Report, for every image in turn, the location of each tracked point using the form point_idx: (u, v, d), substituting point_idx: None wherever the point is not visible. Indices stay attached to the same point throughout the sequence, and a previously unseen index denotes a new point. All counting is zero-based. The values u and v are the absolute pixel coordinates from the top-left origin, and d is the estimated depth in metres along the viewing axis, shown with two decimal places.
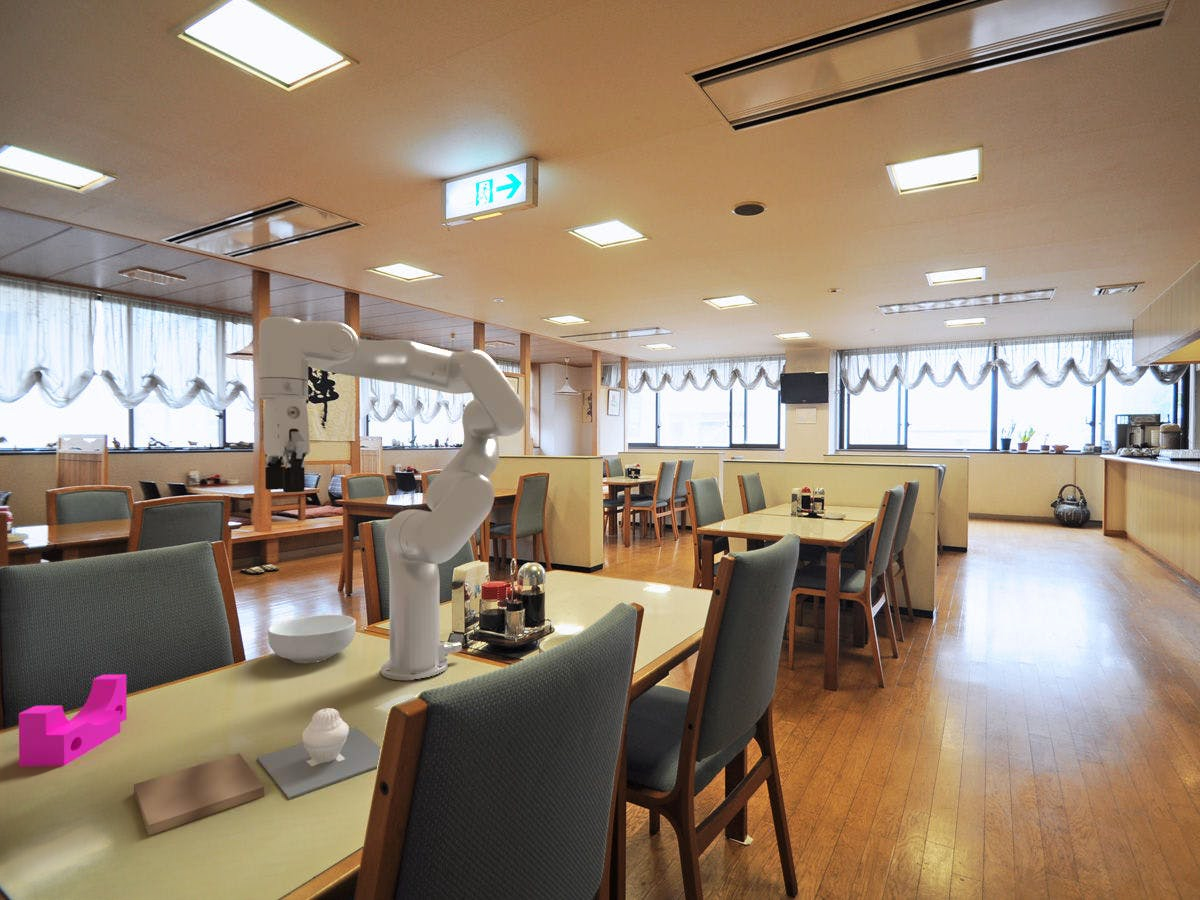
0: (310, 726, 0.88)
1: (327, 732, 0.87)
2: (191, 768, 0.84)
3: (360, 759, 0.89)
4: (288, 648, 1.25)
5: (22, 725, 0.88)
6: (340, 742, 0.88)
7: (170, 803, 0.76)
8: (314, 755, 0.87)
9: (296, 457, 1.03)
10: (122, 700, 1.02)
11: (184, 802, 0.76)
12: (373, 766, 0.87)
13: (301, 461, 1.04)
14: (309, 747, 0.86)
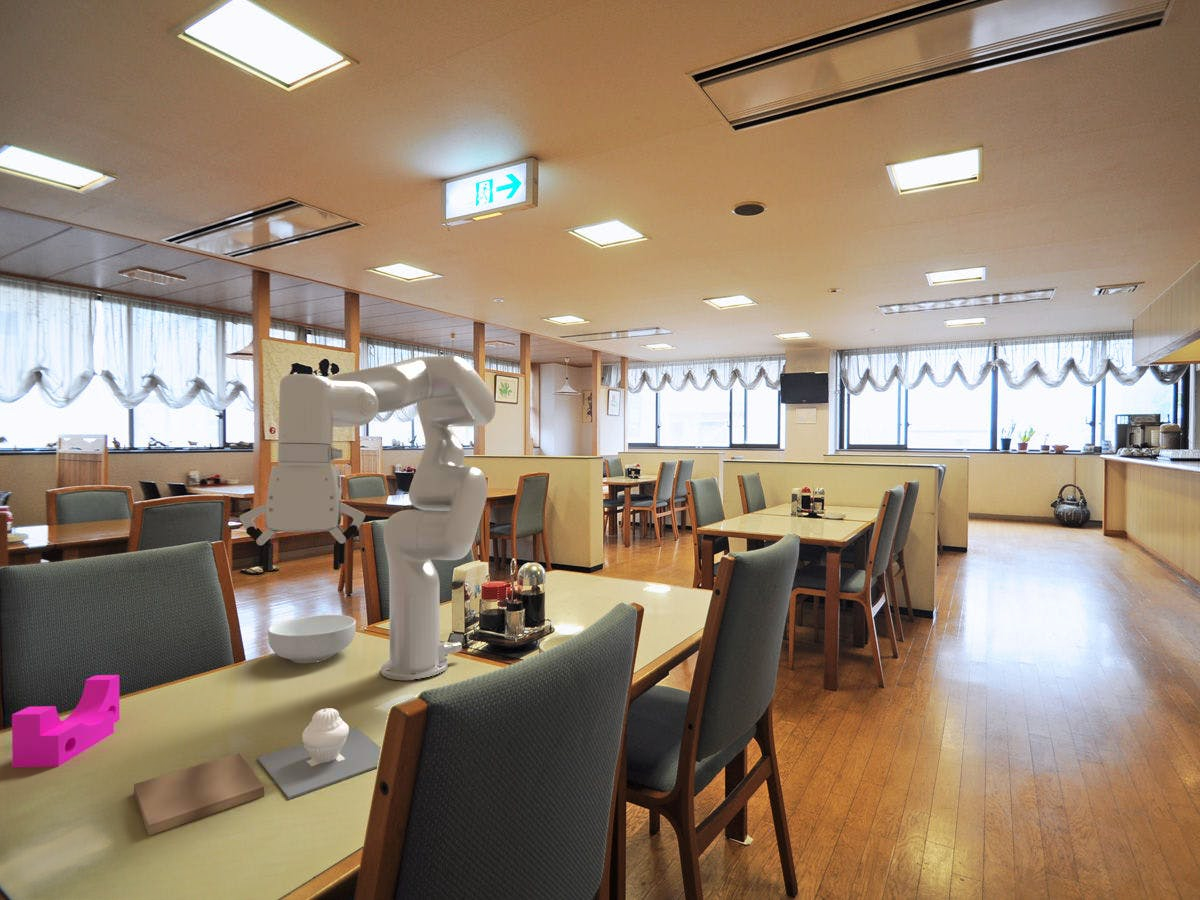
0: (310, 726, 0.88)
1: (327, 732, 0.87)
2: (191, 768, 0.84)
3: (360, 759, 0.89)
4: (288, 648, 1.25)
5: (15, 726, 0.87)
6: (340, 742, 0.88)
7: (170, 803, 0.76)
8: (314, 755, 0.87)
9: (356, 530, 0.97)
10: (115, 701, 1.02)
11: (184, 802, 0.76)
12: (373, 766, 0.87)
13: None
14: (309, 747, 0.86)
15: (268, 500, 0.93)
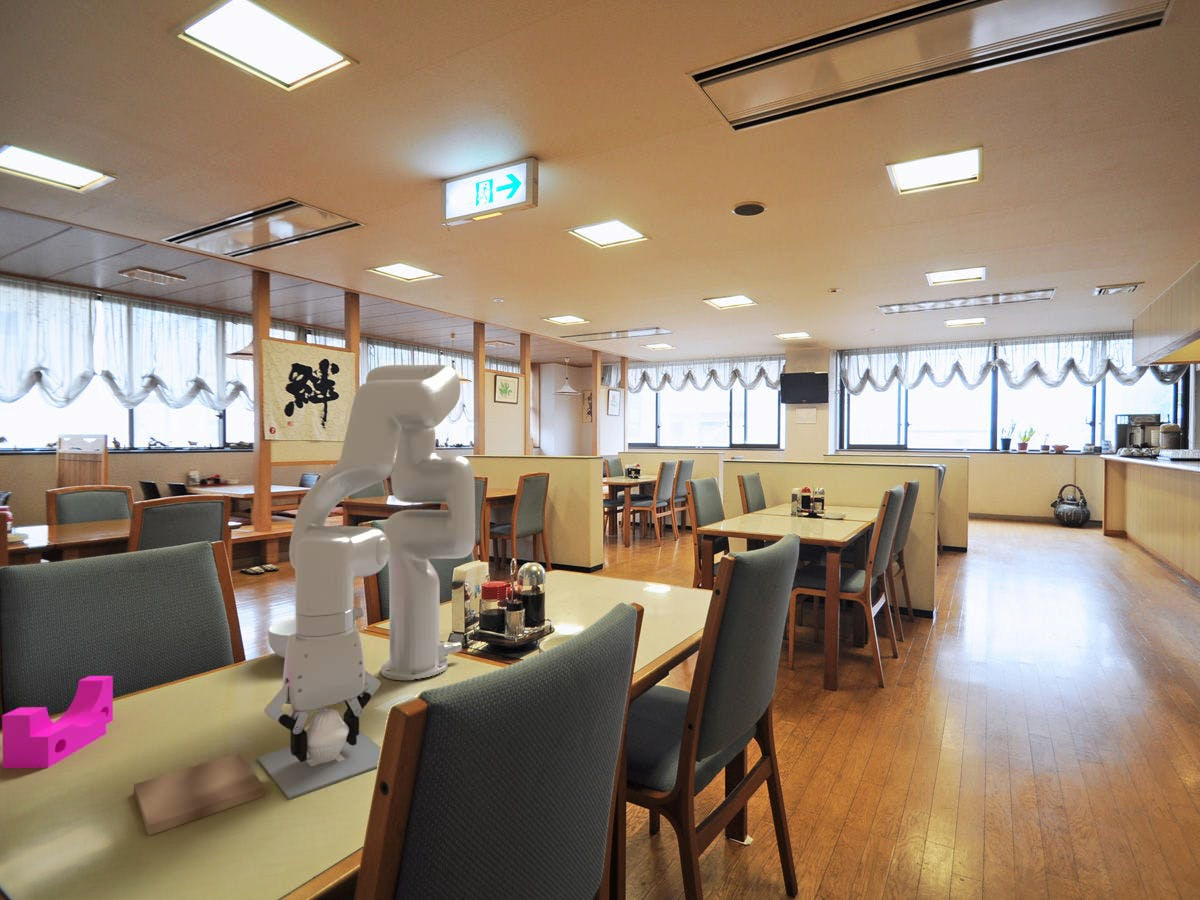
0: (310, 726, 0.88)
1: (327, 732, 0.87)
2: (191, 768, 0.84)
3: (360, 759, 0.89)
4: None
5: (6, 727, 0.87)
6: (340, 742, 0.88)
7: (170, 803, 0.76)
8: (314, 755, 0.87)
9: None
10: (108, 702, 1.01)
11: (184, 802, 0.76)
12: (373, 766, 0.87)
13: None
14: (309, 747, 0.86)
15: (296, 680, 0.84)
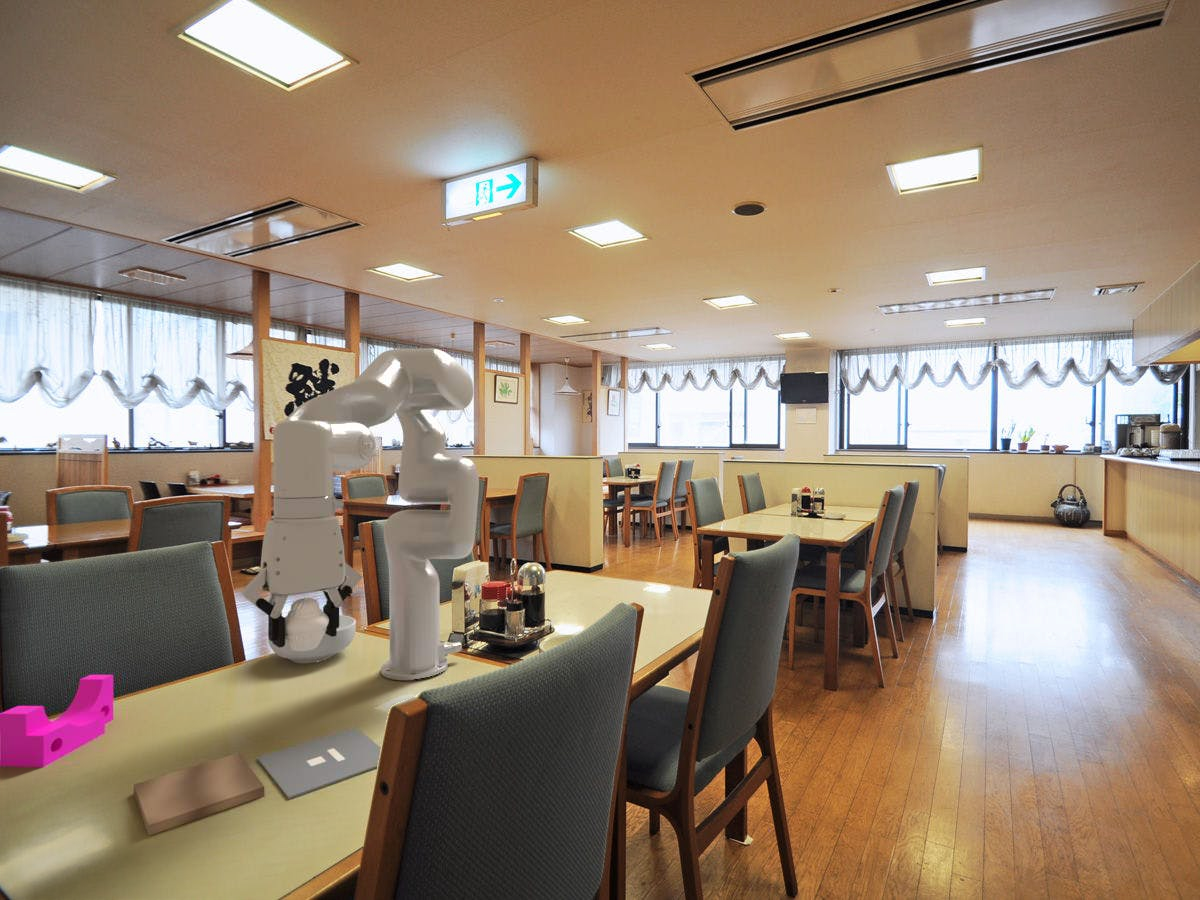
0: (289, 614, 0.86)
1: (306, 618, 0.85)
2: (191, 768, 0.84)
3: (360, 759, 0.89)
4: (288, 648, 1.25)
5: (3, 725, 0.88)
6: (320, 630, 0.86)
7: (170, 803, 0.76)
8: (293, 642, 0.85)
9: None
10: (108, 700, 1.02)
11: (184, 802, 0.76)
12: (373, 766, 0.87)
13: None
14: (288, 633, 0.85)
15: (273, 562, 0.83)
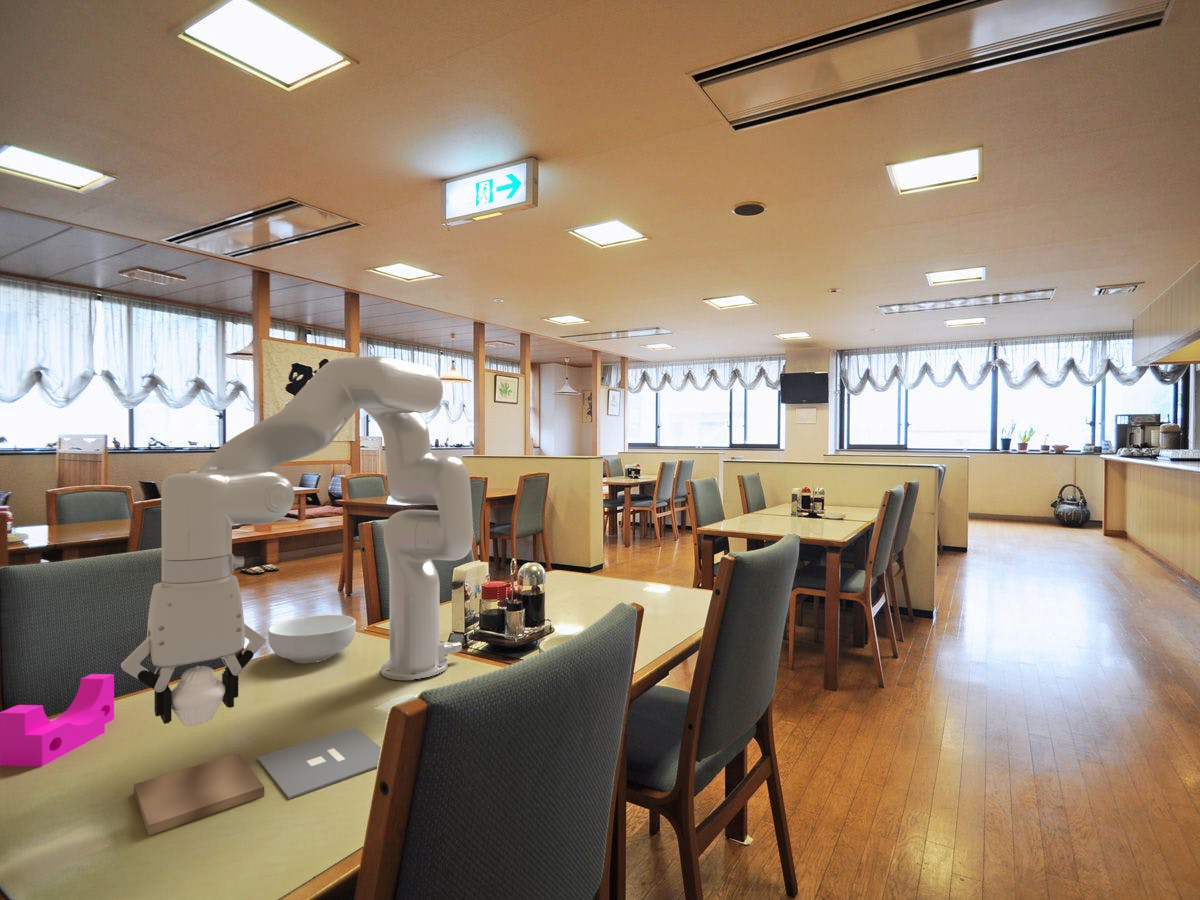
0: (178, 685, 0.79)
1: (196, 690, 0.78)
2: (191, 768, 0.84)
3: (360, 759, 0.89)
4: (288, 648, 1.25)
5: (2, 724, 0.88)
6: (212, 703, 0.79)
7: (170, 803, 0.76)
8: (181, 716, 0.78)
9: None
10: (109, 700, 1.02)
11: (184, 802, 0.76)
12: (373, 766, 0.87)
13: None
14: (175, 707, 0.78)
15: (157, 632, 0.76)
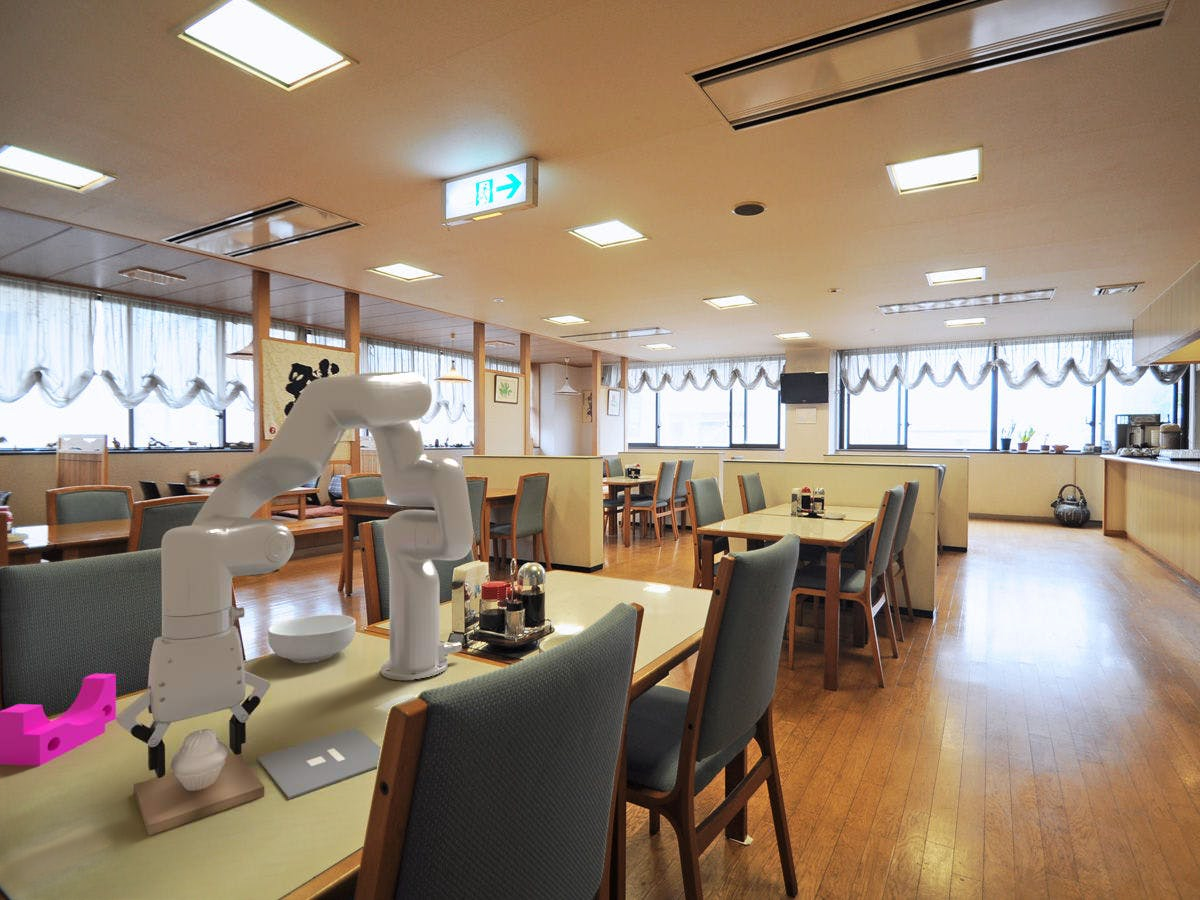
0: (181, 750, 0.79)
1: (198, 756, 0.78)
2: None
3: (360, 759, 0.89)
4: (287, 648, 1.25)
5: (2, 723, 0.88)
6: (215, 767, 0.79)
7: (170, 803, 0.76)
8: (184, 782, 0.78)
9: None
10: (111, 700, 1.02)
11: (184, 802, 0.76)
12: (373, 766, 0.87)
13: None
14: (178, 773, 0.78)
15: (157, 688, 0.76)
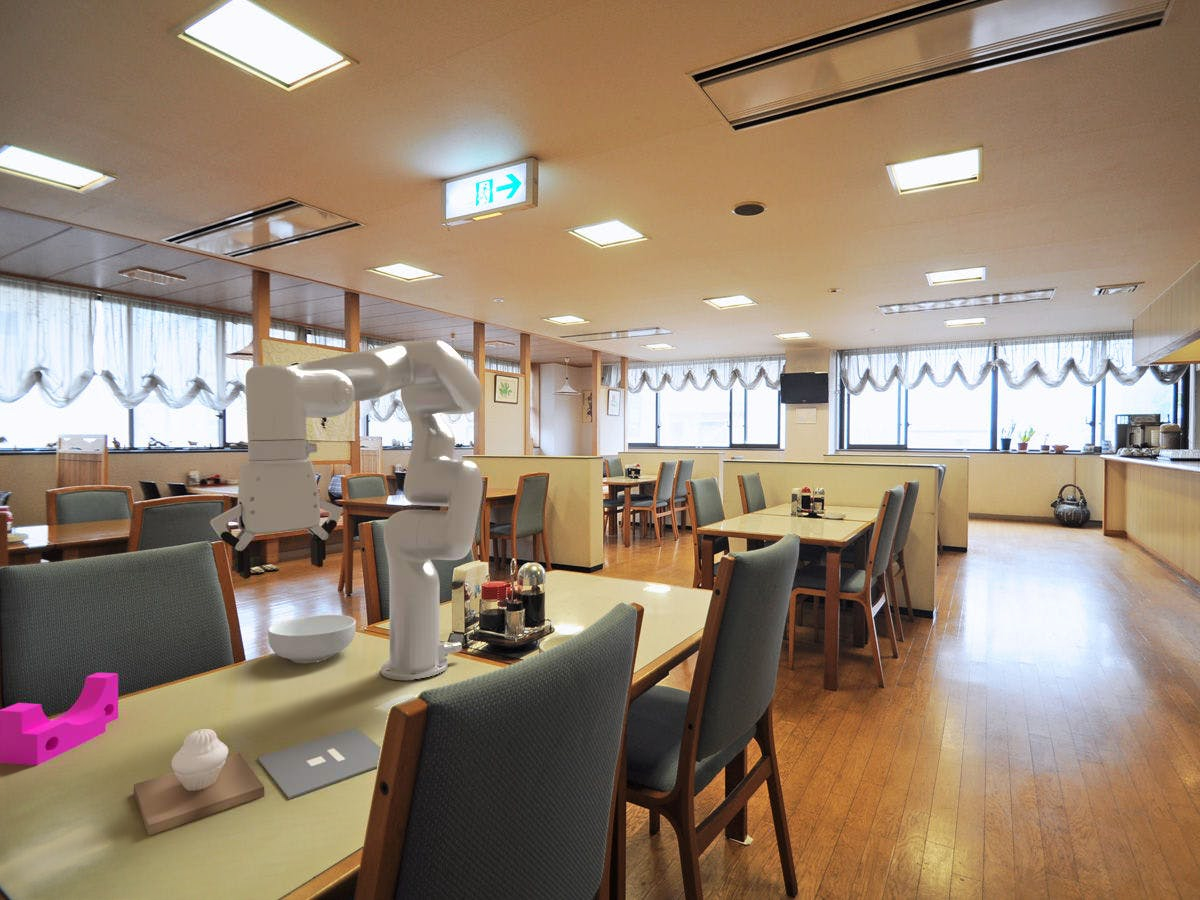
0: (181, 750, 0.79)
1: (198, 756, 0.78)
2: None
3: (360, 759, 0.89)
4: (287, 648, 1.25)
5: (1, 722, 0.89)
6: (215, 767, 0.79)
7: (170, 803, 0.76)
8: (184, 782, 0.78)
9: None
10: (113, 699, 1.02)
11: (184, 802, 0.76)
12: (373, 766, 0.87)
13: None
14: (178, 773, 0.78)
15: (248, 502, 0.86)
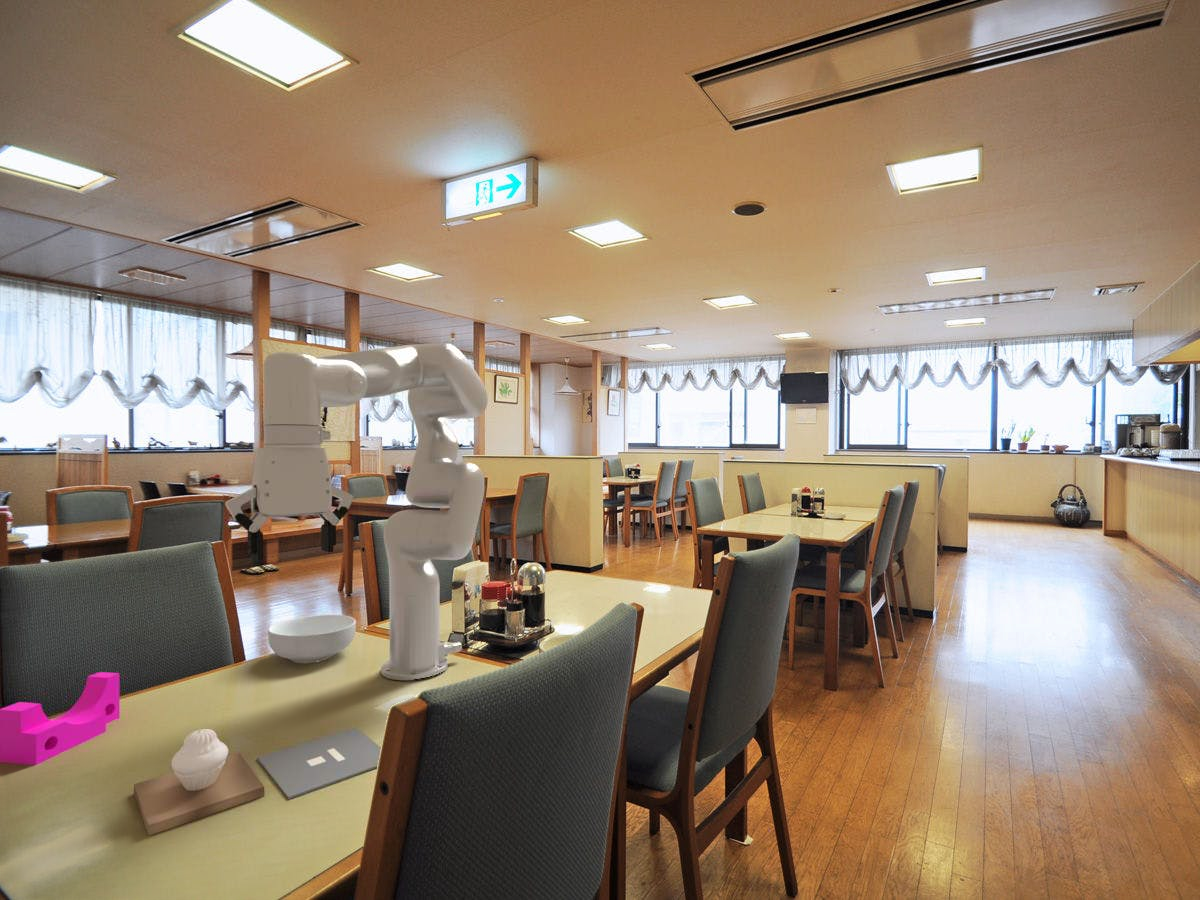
0: (181, 750, 0.79)
1: (198, 756, 0.78)
2: None
3: (360, 759, 0.89)
4: (288, 648, 1.25)
5: (1, 721, 0.89)
6: (215, 767, 0.79)
7: (170, 803, 0.76)
8: (184, 782, 0.78)
9: None
10: (114, 699, 1.02)
11: (184, 802, 0.76)
12: (373, 766, 0.87)
13: None
14: (178, 773, 0.78)
15: (263, 484, 0.88)
